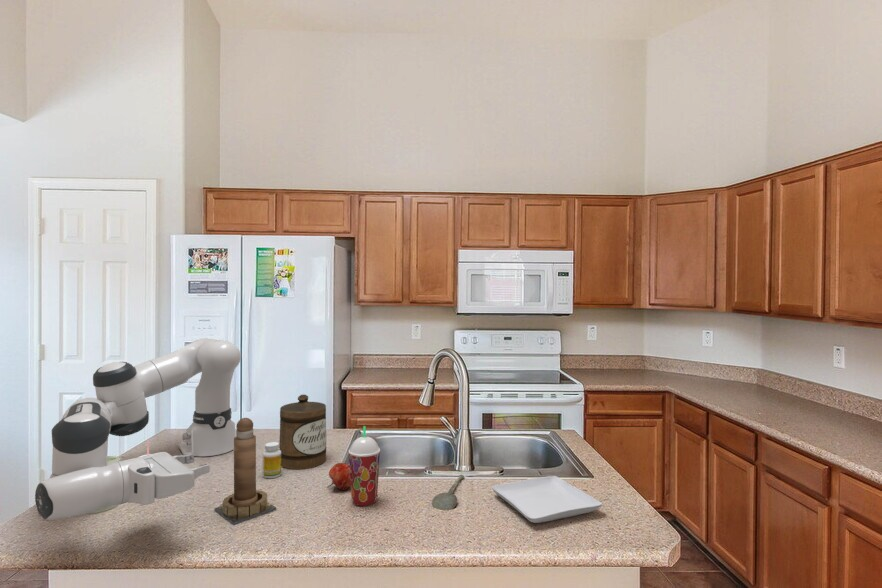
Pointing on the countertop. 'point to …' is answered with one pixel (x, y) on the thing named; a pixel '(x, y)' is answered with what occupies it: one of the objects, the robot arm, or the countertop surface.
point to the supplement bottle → (271, 460)
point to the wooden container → (302, 434)
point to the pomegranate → (340, 475)
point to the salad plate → (546, 498)
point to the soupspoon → (446, 498)
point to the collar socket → (244, 509)
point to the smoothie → (364, 470)
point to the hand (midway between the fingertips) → (200, 462)
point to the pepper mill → (244, 464)
